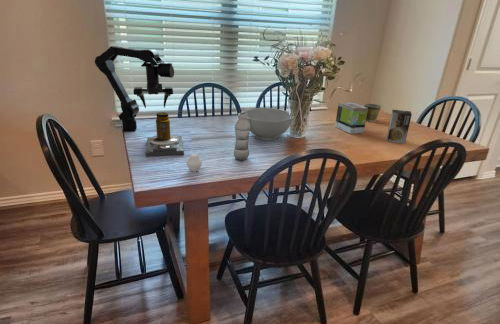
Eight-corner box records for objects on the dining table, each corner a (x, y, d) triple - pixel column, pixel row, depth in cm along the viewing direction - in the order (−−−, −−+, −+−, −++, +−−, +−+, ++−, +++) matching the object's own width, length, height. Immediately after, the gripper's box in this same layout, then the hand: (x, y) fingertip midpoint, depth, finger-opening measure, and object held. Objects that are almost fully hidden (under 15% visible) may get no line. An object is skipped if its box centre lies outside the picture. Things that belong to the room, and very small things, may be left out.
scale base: (146, 156, 138) (145, 149, 137) (147, 141, 156) (147, 134, 155) (184, 154, 142) (183, 147, 141) (181, 140, 160) (181, 133, 159)
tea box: (364, 133, 184) (369, 107, 178) (349, 134, 180) (353, 108, 174) (348, 125, 196) (352, 101, 191) (334, 126, 193) (337, 102, 187)
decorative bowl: (233, 140, 163) (233, 116, 158) (251, 126, 186) (252, 105, 182) (284, 148, 155) (287, 124, 150) (297, 133, 178) (299, 111, 173)
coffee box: (404, 140, 174) (411, 111, 168) (405, 144, 168) (412, 113, 162) (386, 138, 177) (392, 109, 170) (386, 141, 171) (393, 111, 165)
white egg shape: (187, 167, 130) (186, 150, 128) (202, 167, 131) (202, 151, 128) (185, 173, 125) (184, 156, 122) (201, 173, 125) (201, 157, 122)
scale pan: (149, 146, 144) (149, 144, 143) (150, 137, 155) (150, 135, 155) (179, 145, 147) (179, 143, 146) (178, 136, 158) (178, 134, 158)
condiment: (173, 137, 154) (172, 112, 149) (166, 142, 146) (165, 116, 141) (159, 135, 154) (157, 111, 150) (151, 141, 147) (149, 115, 142)
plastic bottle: (233, 155, 143) (234, 111, 136) (248, 156, 144) (250, 112, 136) (233, 161, 138) (234, 115, 130) (249, 161, 138) (251, 116, 130)
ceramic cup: (380, 123, 204) (383, 107, 200) (364, 122, 204) (367, 106, 200) (373, 117, 216) (376, 103, 212) (358, 117, 216) (361, 102, 212)
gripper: (131, 79, 149) (134, 112, 155) (172, 79, 153) (174, 111, 160) (132, 75, 159) (136, 106, 165) (171, 75, 163) (173, 106, 169)
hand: (154, 107), depth 164 cm, fingers open, 9 cm apart
